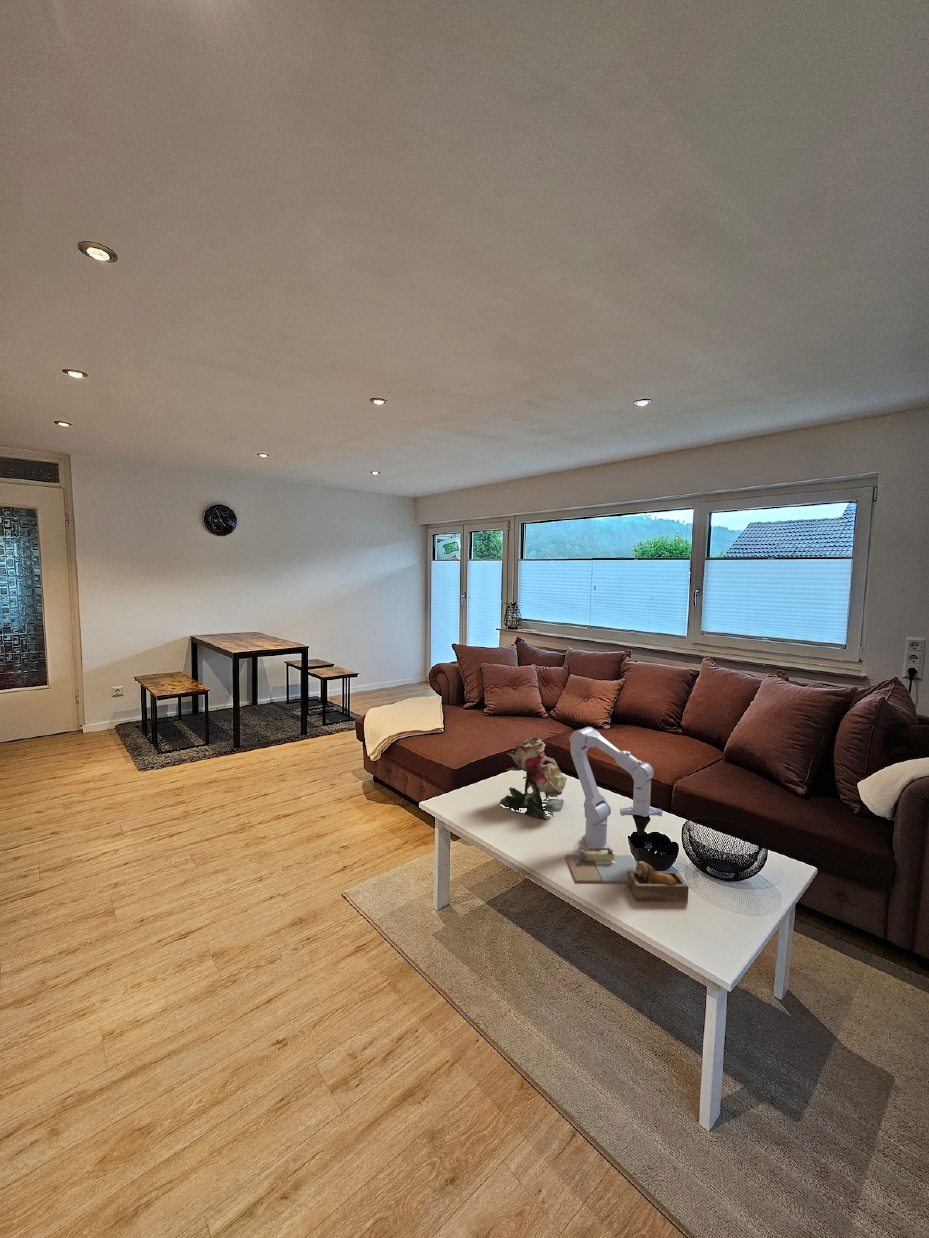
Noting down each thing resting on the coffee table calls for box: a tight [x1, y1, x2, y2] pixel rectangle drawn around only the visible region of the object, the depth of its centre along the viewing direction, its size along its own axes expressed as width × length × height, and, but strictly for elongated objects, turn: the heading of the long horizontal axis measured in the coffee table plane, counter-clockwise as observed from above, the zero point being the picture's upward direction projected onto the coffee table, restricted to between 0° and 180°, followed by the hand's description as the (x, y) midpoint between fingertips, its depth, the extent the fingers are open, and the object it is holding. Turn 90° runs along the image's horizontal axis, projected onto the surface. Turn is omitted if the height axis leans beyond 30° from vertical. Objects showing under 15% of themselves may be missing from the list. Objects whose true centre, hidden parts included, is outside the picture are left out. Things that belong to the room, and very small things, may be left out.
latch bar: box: [585, 848, 615, 861], centre depth 182 cm, size 10×2×3 cm, turn 93°
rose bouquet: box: [499, 736, 568, 821], centre depth 228 cm, size 26×29×30 cm
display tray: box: [626, 870, 690, 903], centre depth 165 cm, size 8×16×5 cm, turn 91°
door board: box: [564, 849, 637, 884], centre depth 178 cm, size 16×24×4 cm, turn 91°
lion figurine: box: [636, 860, 677, 902], centre depth 165 cm, size 15×5×9 cm, turn 66°
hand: (640, 834), depth 183 cm, fingers closed
